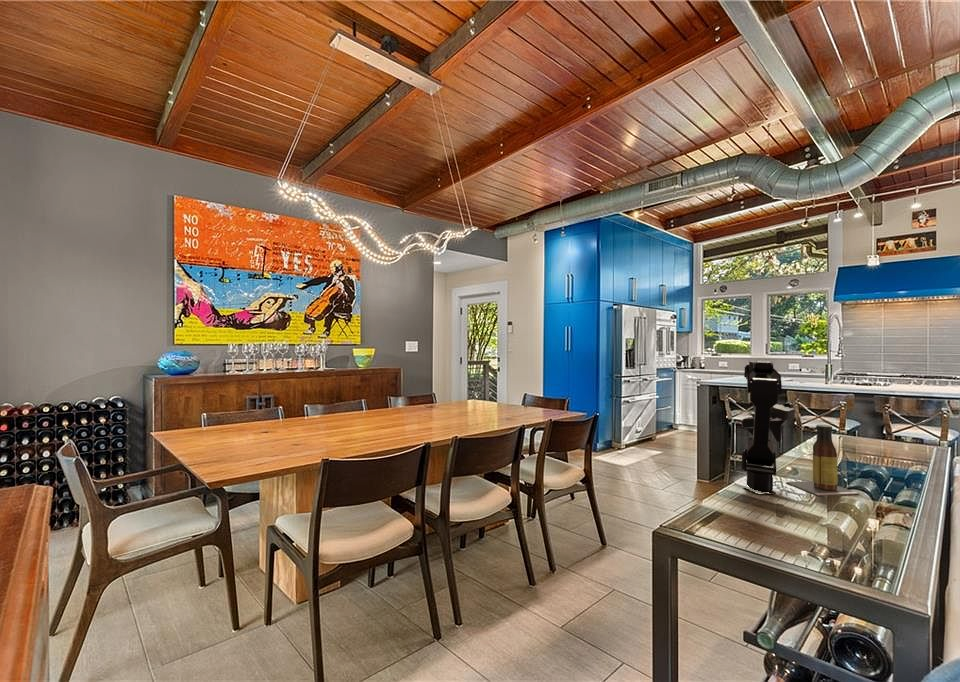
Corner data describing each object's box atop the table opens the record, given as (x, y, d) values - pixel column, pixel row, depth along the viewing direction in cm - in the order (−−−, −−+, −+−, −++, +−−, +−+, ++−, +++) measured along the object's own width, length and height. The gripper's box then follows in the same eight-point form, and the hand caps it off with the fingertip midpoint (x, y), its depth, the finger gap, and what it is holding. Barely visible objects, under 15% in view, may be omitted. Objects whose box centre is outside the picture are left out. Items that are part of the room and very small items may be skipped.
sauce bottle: (841, 489, 142) (843, 426, 142) (831, 492, 139) (832, 428, 139) (817, 483, 148) (819, 423, 148) (807, 486, 145) (809, 424, 145)
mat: (818, 496, 137) (818, 494, 137) (786, 483, 149) (786, 481, 149) (858, 494, 139) (858, 493, 139) (823, 481, 151) (823, 480, 151)
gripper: (770, 401, 140) (781, 451, 139) (801, 392, 149) (812, 439, 148) (736, 402, 150) (746, 449, 148) (767, 394, 159) (777, 438, 158)
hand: (771, 444), depth 150 cm, fingers open, 9 cm apart
